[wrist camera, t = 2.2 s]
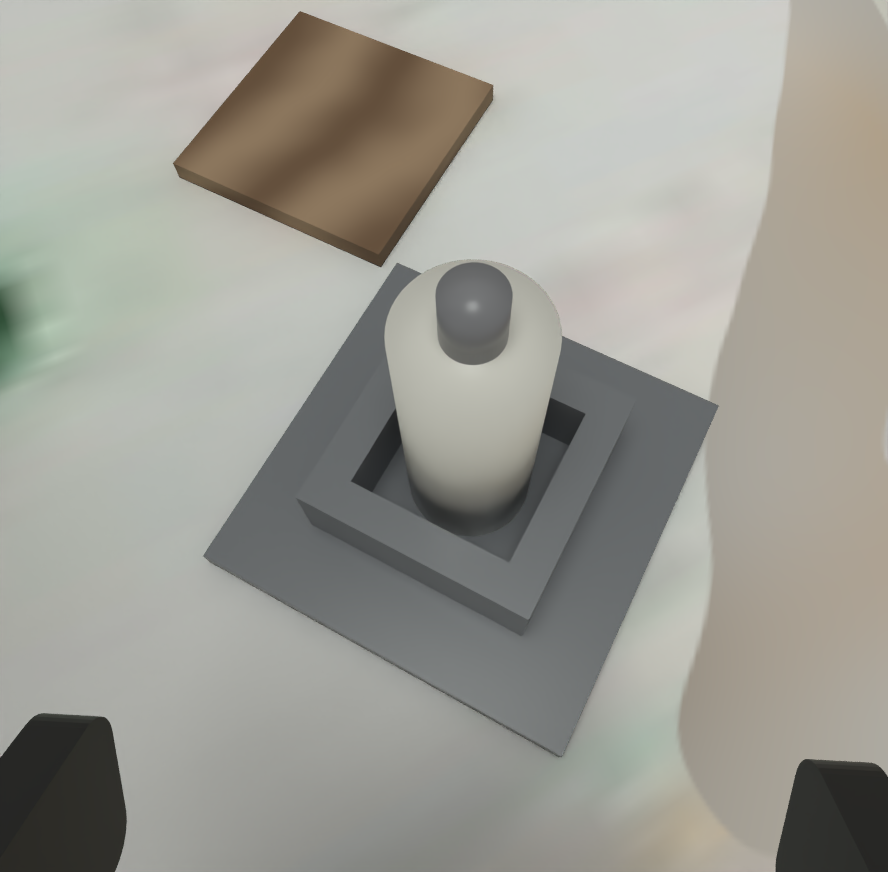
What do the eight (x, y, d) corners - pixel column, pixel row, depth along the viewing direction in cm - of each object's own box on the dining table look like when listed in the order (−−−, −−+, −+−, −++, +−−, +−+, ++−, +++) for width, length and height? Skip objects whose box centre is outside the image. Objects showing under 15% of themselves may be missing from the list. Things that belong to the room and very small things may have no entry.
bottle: (387, 502, 33) (341, 330, 20) (444, 405, 35) (434, 190, 22) (495, 557, 32) (518, 413, 20) (548, 455, 34) (602, 260, 21)
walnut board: (179, 177, 42) (172, 163, 41) (303, 26, 46) (299, 11, 45) (380, 266, 39) (378, 254, 38) (492, 100, 43) (493, 85, 42)
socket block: (210, 562, 34) (174, 531, 29) (398, 274, 39) (391, 215, 35) (558, 757, 30) (574, 754, 26) (712, 415, 36) (744, 367, 32)
